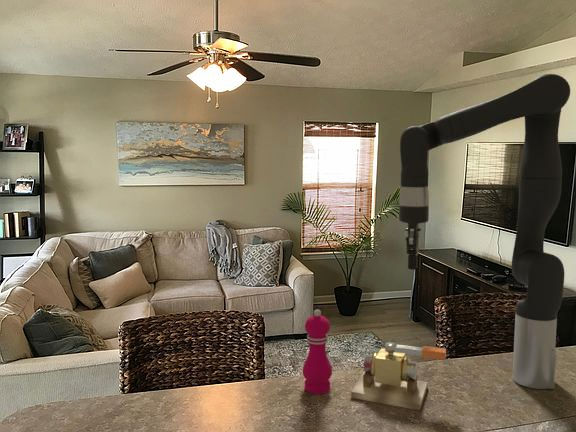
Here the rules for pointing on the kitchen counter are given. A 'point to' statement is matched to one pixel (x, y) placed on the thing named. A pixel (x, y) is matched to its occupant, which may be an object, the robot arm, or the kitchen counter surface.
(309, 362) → the pepper mill
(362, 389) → the board
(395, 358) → the ball valve
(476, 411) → the kitchen counter surface
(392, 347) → the lever
